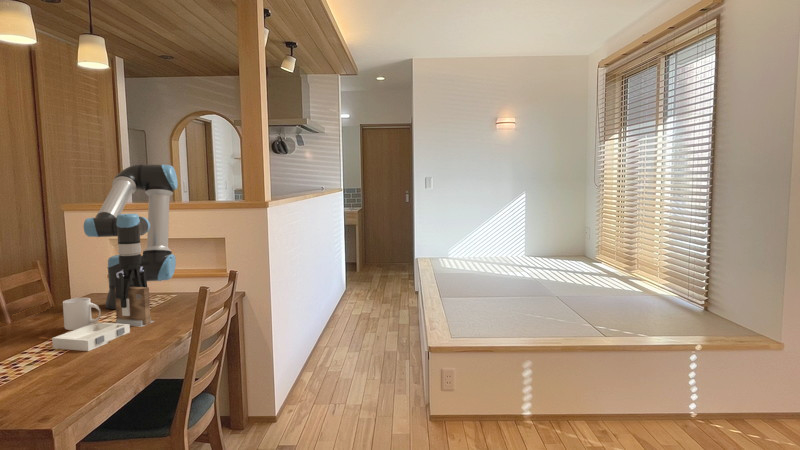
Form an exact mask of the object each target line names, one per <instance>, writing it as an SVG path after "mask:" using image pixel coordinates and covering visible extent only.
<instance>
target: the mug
mask: <svg viewBox="0 0 800 450" xmlns="http://www.w3.org/2000/svg"><path fill="white" fill-rule="evenodd" d="M93 308H94V309H96V310H97V311H98V313H99V314H98V317H96V318H92V309H93ZM62 310H63V311H62V313H63V327H64V329H65V330H68V331H73V330H76V329H79V328H82V327H85V326H87V325H90V324H93V323H96V322H99V320H100V318H101V316H102V315H101V313H102V311H101V308H100V307H99V305H98V304H96V303H93V302H91V298H90V297H73V298H69V299H66V300H65V299H64V300H63V301H62Z"/></svg>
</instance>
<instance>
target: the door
mask: <svg viewBox="0 0 800 450" xmlns="http://www.w3.org/2000/svg"><path fill="white" fill-rule="evenodd" d="M115 294H116V287H115ZM127 299H129V306H130V316H122V308H121V300H120V299H116V298H115V300H116V309H115V315H116V317H115V318H116V319H129V320H143V325H145V326H147V325H150V324H152V323H151V321H152V317H151V304H150V287H148V286H147V287H129V291H128V296H127ZM150 317H151V318H150ZM149 323H150V324H149Z"/></svg>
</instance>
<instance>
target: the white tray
mask: <svg viewBox="0 0 800 450" xmlns="http://www.w3.org/2000/svg"><path fill="white" fill-rule="evenodd" d="M130 333H131V326H130V324H117V323H116V322H113V323H112V322H102V321H101V322H100V321H97V322H95V323H92V324H90V325H87V326H85V327H82V328H79V329H76V330H69V331H68V332H66V333H62V334H59V335H57V336H54V337H52V338H51V342H52V349H56V350H57V349H58V350H69V351H70V350H71V351H83V352H90V351H92V350H94V349H95V350H96V349H97V348H99V347H101V346H104V345H106V344H108V343H111V341H113V340H114V339H117V338H119V337H122V336H125V335H127V334H130Z"/></svg>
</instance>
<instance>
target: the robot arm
mask: <svg viewBox="0 0 800 450" xmlns="http://www.w3.org/2000/svg"><path fill="white" fill-rule="evenodd" d="M176 173H177V171H176V170H175V167H174V166H172V165H170V164H164V163H163V164H134V165H131V166H128V167H126V168H125V169H122V171H120V172H118V174H117V175H116V176H115V177H114V178H113V181H112V183H111V186H112V187H111V189H110V191H109V192H108V193H107V196H106V198H105V200H104V201H103V203H102V205H101V207H100V209H99V211H98V212H97V214H96V215H95V217H93V216H92V217H88V218H86V219H85V220H84V222H83V232H84V234H85V235H86V237H89V238H90V237H91V238H92V237H93V238H95V237H96V238H105V237H106V238H107V237H111V238H112V237H117V244H118V245H117V246H118V247H117V248H118V251H117V252H118V254H116V255H112V256H110V257H108V260H107V275H108V287H109V288H108V293H107V298H106V300H105V309H107V310H116V300H115V298H116V299H120V300H121V308H122V316H130V306H129V299H127V296H128V291H129V287H148V282H162V281H169V280H171V279H172V278H173V276H174V274H175V270H176V265H177V263H176V262H177V261H176V260H177V259H176V256H175V254H173V252H172V250H171V248H169V228H170V227H169V224H170V197H172V196H173V195H174V191H175V190H177V189H178V187H179V186H178V185H179V184H178V176H177V174H176ZM140 190H144V191H145V192H144V194H146V195H147V196H148V210H147V218H146V217H145V216H139V214H137V213H122V212H124V211H123V210H124V208H125V206H126V205H127V203H128V200H129V199H130V196H131V195H133V194H134V193H135V192H136V191H140ZM145 234H146V237H147V238H146V248H145V249H143V251H142V246H141V245H142V244H141V236H144V235H145ZM141 253H142V254H141ZM115 287H116V294H115Z"/></svg>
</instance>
